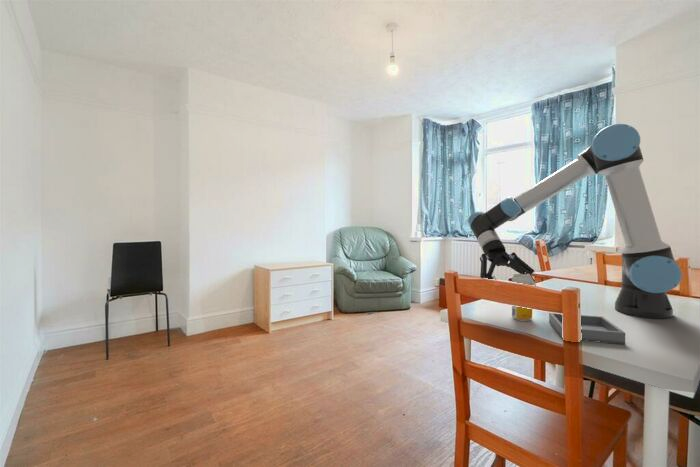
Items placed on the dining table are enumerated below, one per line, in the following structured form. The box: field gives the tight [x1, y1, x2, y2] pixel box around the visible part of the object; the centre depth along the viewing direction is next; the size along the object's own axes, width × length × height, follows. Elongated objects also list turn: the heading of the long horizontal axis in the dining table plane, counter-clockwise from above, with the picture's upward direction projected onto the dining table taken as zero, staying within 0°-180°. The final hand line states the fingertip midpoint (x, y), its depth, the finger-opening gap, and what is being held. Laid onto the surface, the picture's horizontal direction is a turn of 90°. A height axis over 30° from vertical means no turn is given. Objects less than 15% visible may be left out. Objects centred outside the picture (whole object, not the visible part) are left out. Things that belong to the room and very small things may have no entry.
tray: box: [548, 312, 626, 345], centre depth 95 cm, size 15×15×3 cm
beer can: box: [511, 273, 534, 322], centre depth 109 cm, size 6×6×15 cm
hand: (518, 292), depth 110 cm, fingers open, 13 cm apart
